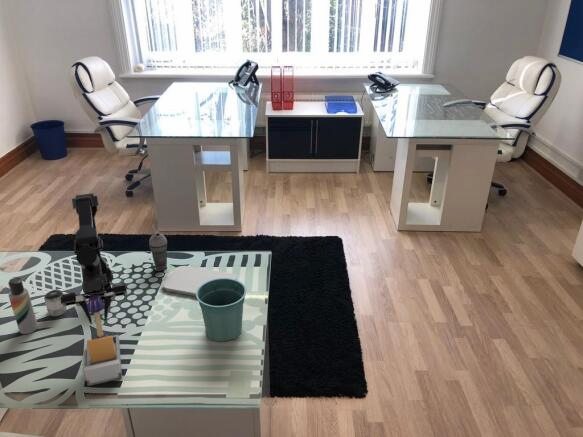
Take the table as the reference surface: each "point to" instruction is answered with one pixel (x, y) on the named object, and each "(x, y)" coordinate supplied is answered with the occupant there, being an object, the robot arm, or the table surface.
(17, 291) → the lotion bottle
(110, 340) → the block
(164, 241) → the beverage cup
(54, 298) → the jar with dark lid
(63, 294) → the robot arm
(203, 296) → the flower pot
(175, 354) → the table surface
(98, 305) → the toy lamp
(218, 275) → the tablet
